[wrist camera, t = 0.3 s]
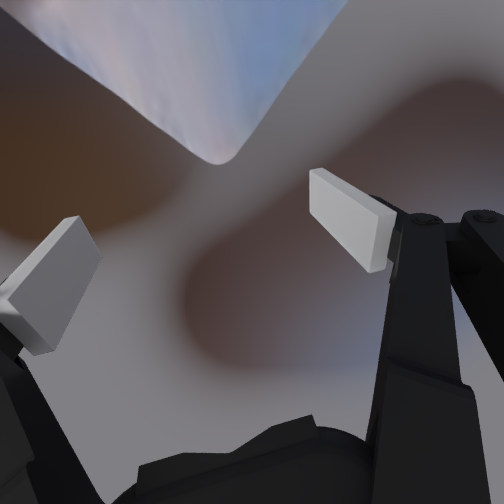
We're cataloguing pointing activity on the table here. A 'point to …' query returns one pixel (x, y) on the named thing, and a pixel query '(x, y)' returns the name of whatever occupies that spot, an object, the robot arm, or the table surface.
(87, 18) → the table surface
